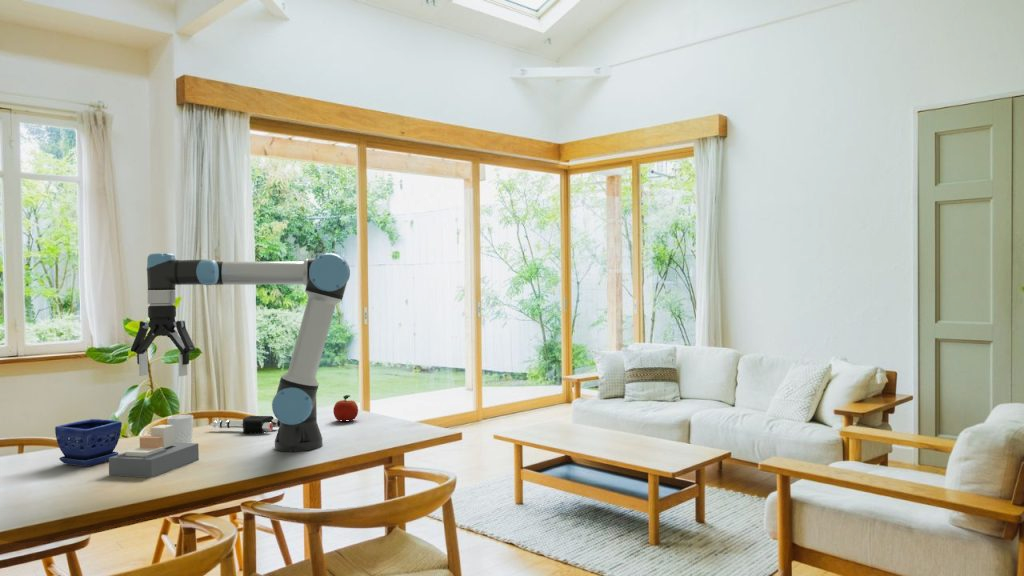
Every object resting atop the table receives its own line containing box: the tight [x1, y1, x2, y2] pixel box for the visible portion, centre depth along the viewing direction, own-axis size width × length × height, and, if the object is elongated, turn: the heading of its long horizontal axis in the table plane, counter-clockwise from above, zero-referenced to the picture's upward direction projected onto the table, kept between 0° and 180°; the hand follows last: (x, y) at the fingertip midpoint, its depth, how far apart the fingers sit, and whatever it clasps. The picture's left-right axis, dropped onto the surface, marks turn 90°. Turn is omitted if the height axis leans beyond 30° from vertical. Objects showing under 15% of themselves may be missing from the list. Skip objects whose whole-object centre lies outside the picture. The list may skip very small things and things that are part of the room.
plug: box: [150, 424, 174, 450], centre depth 207 cm, size 4×4×11 cm
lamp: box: [209, 415, 280, 434], centre depth 254 cm, size 11×5×25 cm
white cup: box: [166, 414, 194, 443], centre depth 231 cm, size 8×8×10 cm
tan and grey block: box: [124, 435, 164, 457], centre depth 200 cm, size 7×7×4 cm
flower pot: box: [54, 418, 123, 467], centre depth 211 cm, size 13×13×12 cm
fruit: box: [333, 394, 359, 421], centre depth 271 cm, size 10×10×10 cm
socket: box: [108, 442, 200, 478], centre depth 204 cm, size 14×20×6 cm
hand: (163, 375), depth 207 cm, fingers open, 13 cm apart
